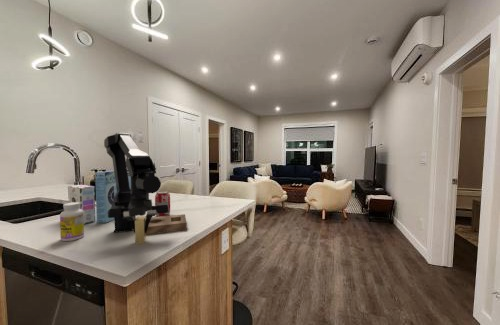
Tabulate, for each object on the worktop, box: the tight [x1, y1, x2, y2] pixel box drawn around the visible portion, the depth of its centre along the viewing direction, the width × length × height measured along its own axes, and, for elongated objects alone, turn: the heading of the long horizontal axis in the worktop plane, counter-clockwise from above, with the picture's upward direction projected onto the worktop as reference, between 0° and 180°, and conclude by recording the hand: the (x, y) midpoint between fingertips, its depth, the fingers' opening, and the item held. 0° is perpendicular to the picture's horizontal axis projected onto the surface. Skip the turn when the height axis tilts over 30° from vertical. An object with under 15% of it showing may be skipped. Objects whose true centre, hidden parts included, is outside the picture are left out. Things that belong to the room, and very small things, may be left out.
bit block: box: [146, 214, 188, 236], centre depth 91 cm, size 16×13×3 cm
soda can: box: [154, 190, 171, 217], centre depth 108 cm, size 7×7×12 cm
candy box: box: [67, 184, 97, 225], centre depth 100 cm, size 14×6×16 cm, turn 58°
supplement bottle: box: [59, 202, 85, 242], centre depth 79 cm, size 7×7×13 cm
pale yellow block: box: [134, 215, 147, 245], centre depth 77 cm, size 3×5×8 cm, turn 20°
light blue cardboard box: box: [94, 169, 131, 224], centre depth 106 cm, size 20×5×23 cm, turn 178°
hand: (140, 233), depth 77 cm, fingers closed on pale yellow block, 3 cm apart
